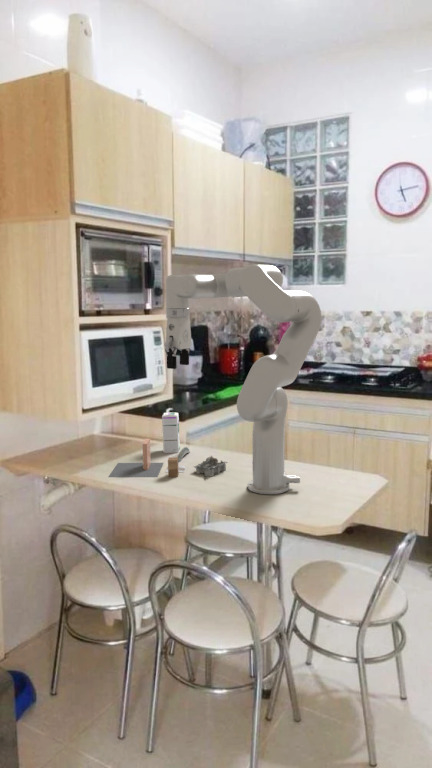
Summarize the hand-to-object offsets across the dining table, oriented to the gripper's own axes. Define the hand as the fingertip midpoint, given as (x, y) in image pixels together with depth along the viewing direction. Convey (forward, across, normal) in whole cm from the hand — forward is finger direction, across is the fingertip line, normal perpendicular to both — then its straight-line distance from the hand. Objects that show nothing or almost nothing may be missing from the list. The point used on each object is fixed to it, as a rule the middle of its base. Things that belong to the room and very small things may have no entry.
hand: (178, 366), depth 193 cm
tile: (+35, -2, +11) cm, 36 cm away
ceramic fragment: (+36, +13, +4) cm, 38 cm away
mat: (+35, -6, +12) cm, 38 cm away
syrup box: (+36, +19, +12) cm, 42 cm away
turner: (+35, -4, -1) cm, 35 cm away
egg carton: (+35, +1, -11) cm, 37 cm away
